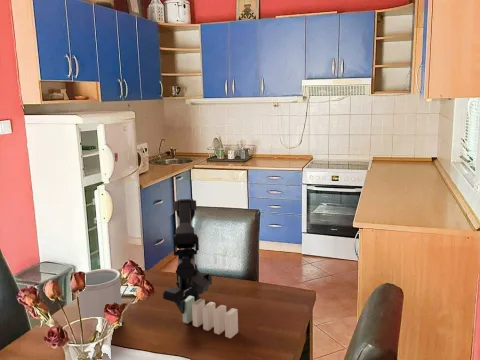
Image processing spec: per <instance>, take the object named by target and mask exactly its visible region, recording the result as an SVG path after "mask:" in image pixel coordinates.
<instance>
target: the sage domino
mask: <svg viewBox="0 0 480 360" xmlns="http://www.w3.org/2000/svg"><path fill="white" fill-rule="evenodd" d="M194 302H195V299H194V297H193V296H188V297H187V299H186V300H185V312H184V314H182V313H181V314H182V322H183V324H189V323H191V322H193V316H192V303H194Z"/></svg>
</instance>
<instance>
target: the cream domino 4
mask: <svg viewBox="0 0 480 360" xmlns="http://www.w3.org/2000/svg"><path fill="white" fill-rule="evenodd" d="M238 311H239V309H237V308H232V307H231V308H230V309H229V310H228V311H226V313H225V330H224V334H225V335H224V337H226V338H228V339H232V338H233V337H234V336H235V335H237V334H238V333H239V318H238V317H239V316H238Z"/></svg>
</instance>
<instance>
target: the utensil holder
mask: <svg viewBox="0 0 480 360" xmlns="http://www.w3.org/2000/svg"><path fill="white" fill-rule="evenodd" d="M84 273H85V275H86V288H85V290H84V291H82V292H80V294H79V307H80V314H81V318H89V317H104V308H105V305H106V304H113V303H114V302H115V303H117V304H122V293H121V280H120V279H121V272H119V270H117V269H113V268H98V269H93V270H89V271H85V272H84ZM119 289H120V290H119ZM77 311H78V310H77ZM78 313H79V311H78ZM120 321H121V323H123V315H122V316H121V319H120ZM118 328H119V327H116V328H115V330H116V329H118Z"/></svg>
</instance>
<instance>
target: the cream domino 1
mask: <svg viewBox="0 0 480 360" xmlns="http://www.w3.org/2000/svg"><path fill="white" fill-rule="evenodd" d="M204 305H206V301H205V299H202V298H201V299H199V300H197V301H195V302H194V303H192V316H193V320H192V327H193V326H194V327H196V328H198V327H200V326H201V325H203V308H202V307H203V306H204Z"/></svg>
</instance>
